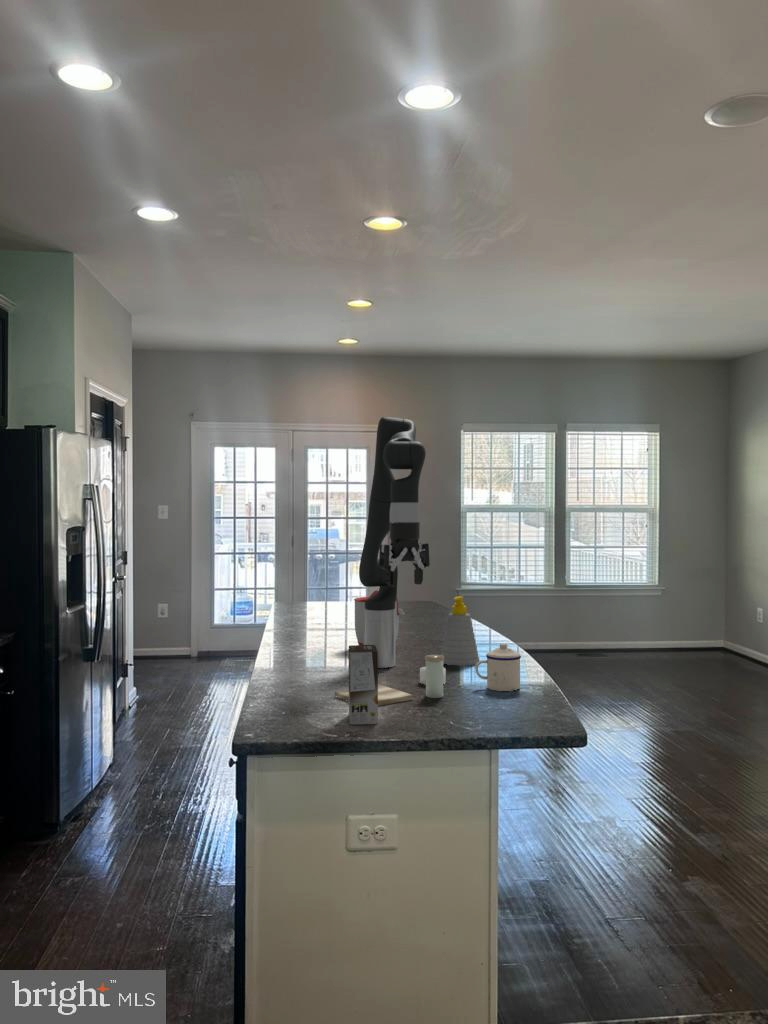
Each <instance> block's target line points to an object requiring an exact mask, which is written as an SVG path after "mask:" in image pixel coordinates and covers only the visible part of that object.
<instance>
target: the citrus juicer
mask: <svg viewBox="0 0 768 1024" xmlns="http://www.w3.org/2000/svg"><path fill="white" fill-rule="evenodd" d="M378 591H379V589H376V590H374V591H373V592H372V593H371V594H370V595H369V596H363V597H362V596H361V597H355V598H353V601H354V630H355V635H356V636H355V637H356V640H357V643H358V644H357V645H364V633H365V600H366V599H368V598H370V597H372V596H373V595H375V594H376V593H377V592H378ZM399 615H405V613H404V610H403V609H402V608H400V607H399V600H398V597H397V599H396V603H395V644H396V642H397V639H398V633H399V626H400V621H399V620H400V619H399V617H400V616H399Z"/></svg>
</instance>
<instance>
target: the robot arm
mask: <svg viewBox="0 0 768 1024" xmlns="http://www.w3.org/2000/svg"><path fill="white" fill-rule="evenodd" d="M377 424H378V426H377V429H376V439H375V440H376V441H375V442H376V443H375V456H374V457H375V458H374V468H373V477H372V484H371V490H370V496H369V504H368V514H367V515H368V517H367V525H366V530H365V531H366V532H365V538H364V542H363V546H362V547H363V548H362V551H361V556H360V561H359V568H358V574H359V575H358V576H359V581H360V583H361V585H362V586H364V587H367V588H369V587H370V588H371V587H372V588H373V587H374V588H375V587H377V588H378V587H379V589H378V592H377V593H376V594H375V595H373V596H372V597H370V596H369V597H370V598H368V599H366V600H365V633H364V645H375V646H376V648H377V651H378V669H386V668H388V667H389V668H393V667H395V666H396V643H395V603H396V599H397V598H398V579H399V577H398V576H399V573H398V572H399V571H398V570H399V569H398V565H399V564H400V563H401V562H409V563H411V564H412V566H413V567H414V570H413V571H414V572H413V574H414V575H413V576H414V577H413V578H414V579H413V580H414V583H413V584H415V585H422V584H423V581H424V569H425V568H427V567H429V566H431V565H430V549H429V548H430V547H429V543H425V542H421V543H419V539H420V537H421V536H420V534H421V533H420V527H421V526H420V521H421V520H420V518H421V517H420V514H421V513H420V507H419V506H420V505H419V487H420V478H421V475H422V470H423V467H424V464H425V460H426V453H427V452H426V448H425V446H424V445H423V443H421V442H419V441H416V438H417V437H416V436H417V429H416V428H417V427H416V424H415V422H414V421H412V420H411V419H406V418H399V417H391V416H382V417H381V418H380V419H379V421H378V423H377ZM392 470H410V471H411V472H410V473H409V475H408V476H406V477H405V476H404V477H401V478H397V479H395V476H394V474H393V473H392ZM388 534H389V540H390V544H382V543H383V541H384V539H385V538H386V537H387V536H388ZM390 553H391V555H390ZM418 553H419V554H418ZM389 668H388V669H389Z"/></svg>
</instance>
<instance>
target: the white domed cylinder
mask: <svg viewBox="0 0 768 1024" xmlns="http://www.w3.org/2000/svg"><path fill="white" fill-rule="evenodd" d="M446 674H447V670H446V667H444V666H443V684H444V685H446V684H445V683H446V682H447V678H446V677H447V676H446ZM420 683H421V684H420ZM419 684H420V685H422V684H425V685H424V686H426V666H422V667H420V668H419Z"/></svg>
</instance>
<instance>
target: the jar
mask: <svg viewBox="0 0 768 1024" xmlns="http://www.w3.org/2000/svg"><path fill="white" fill-rule="evenodd" d="M424 660H425V667H426V685H425V696H426V697H427V698H428V699H430V698H431V699H439V698H444V685H443V667H444V664H443V660H444V656H442V655H441V654H428V655H427V654H426V655H425V656H424Z"/></svg>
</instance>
